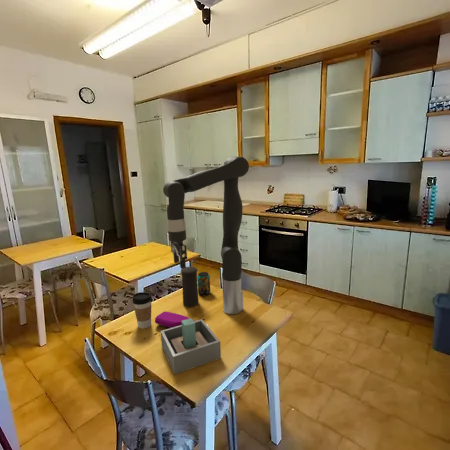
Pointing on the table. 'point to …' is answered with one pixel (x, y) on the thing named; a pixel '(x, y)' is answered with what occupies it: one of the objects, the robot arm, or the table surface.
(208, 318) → the table surface
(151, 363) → the table surface
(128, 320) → the table surface
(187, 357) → the crate
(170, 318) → the spray bottle
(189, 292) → the container
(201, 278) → the beverage can
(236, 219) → the robot arm
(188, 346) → the peg
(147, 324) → the coffee cup
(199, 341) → the plate
